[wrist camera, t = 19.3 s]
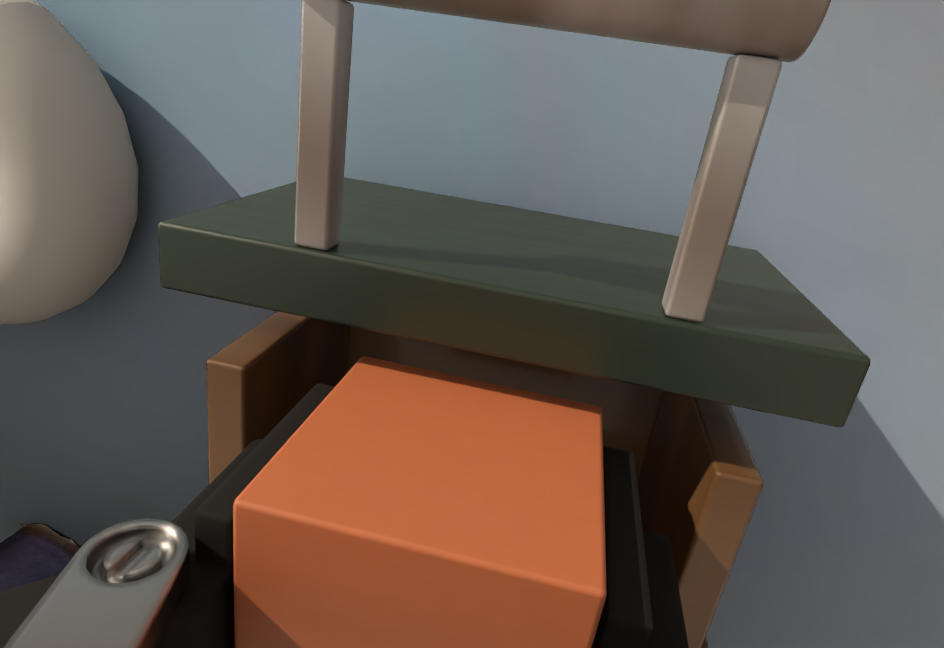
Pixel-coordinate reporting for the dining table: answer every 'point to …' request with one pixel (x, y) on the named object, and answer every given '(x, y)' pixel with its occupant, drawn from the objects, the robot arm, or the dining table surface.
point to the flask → (33, 555)
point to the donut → (58, 169)
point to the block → (425, 520)
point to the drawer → (536, 283)
